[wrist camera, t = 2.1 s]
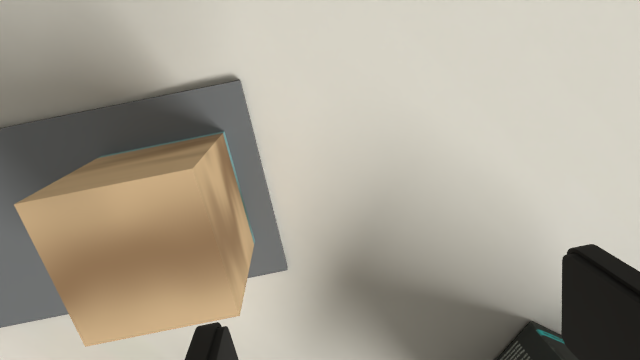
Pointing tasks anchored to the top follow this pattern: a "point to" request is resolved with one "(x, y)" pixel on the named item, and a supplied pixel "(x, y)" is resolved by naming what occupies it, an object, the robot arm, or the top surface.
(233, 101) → the rubber mat
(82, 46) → the top surface
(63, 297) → the oak block
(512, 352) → the tampon box
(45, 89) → the top surface
